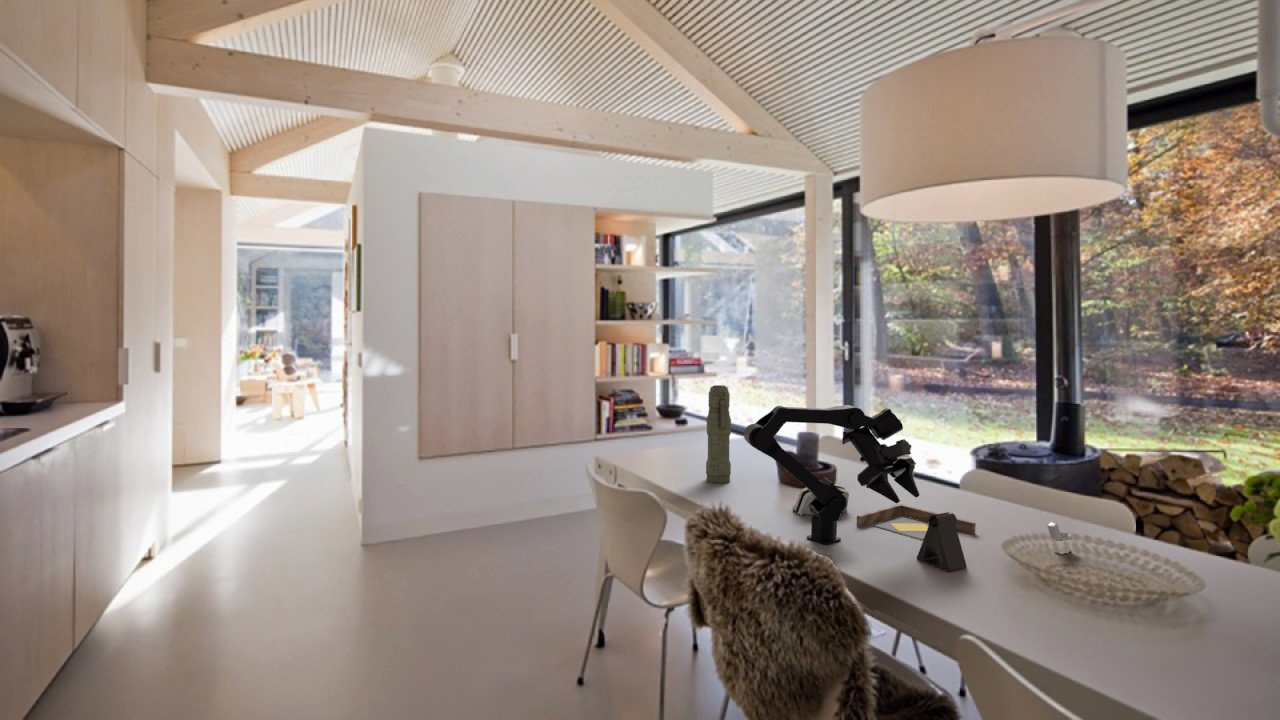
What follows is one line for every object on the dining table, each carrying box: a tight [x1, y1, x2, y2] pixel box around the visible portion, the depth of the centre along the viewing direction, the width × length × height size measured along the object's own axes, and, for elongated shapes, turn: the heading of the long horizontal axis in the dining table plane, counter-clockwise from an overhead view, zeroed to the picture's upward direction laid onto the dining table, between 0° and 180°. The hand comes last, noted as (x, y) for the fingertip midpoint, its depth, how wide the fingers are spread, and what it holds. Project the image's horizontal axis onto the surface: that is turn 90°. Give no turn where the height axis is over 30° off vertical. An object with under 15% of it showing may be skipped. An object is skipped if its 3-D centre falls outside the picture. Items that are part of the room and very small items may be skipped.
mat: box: [874, 516, 929, 541], centre depth 174 cm, size 14×14×1 cm
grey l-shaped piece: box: [1047, 522, 1073, 541], centre depth 155 cm, size 7×2×8 cm, turn 113°
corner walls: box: [856, 503, 977, 535], centre depth 173 cm, size 21×23×3 cm
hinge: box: [791, 483, 850, 516], centre depth 190 cm, size 17×5×10 cm, turn 107°
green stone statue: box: [705, 384, 732, 484], centre depth 228 cm, size 9×12×35 cm
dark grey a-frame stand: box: [916, 511, 968, 573], centre depth 147 cm, size 9×6×12 cm, turn 26°
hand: (908, 499), depth 154 cm, fingers open, 9 cm apart
